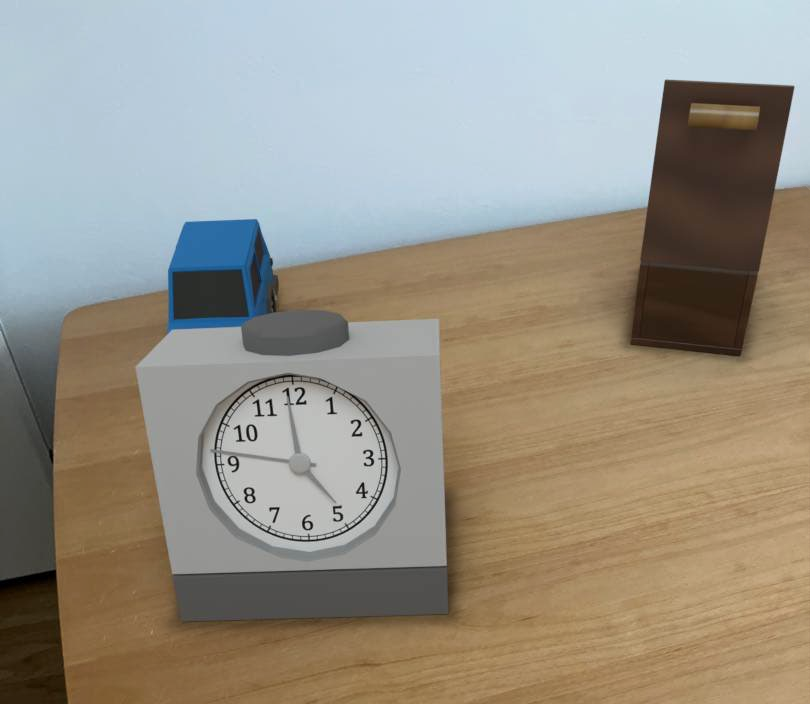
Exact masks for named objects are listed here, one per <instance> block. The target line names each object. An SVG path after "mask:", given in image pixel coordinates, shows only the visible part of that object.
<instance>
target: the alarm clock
mask: <svg viewBox="0 0 810 704" xmlns="http://www.w3.org/2000/svg"><path fill="white" fill-rule="evenodd" d="M135 374H136V379H137V384H138V391H139V396H140V402H141V408H142V413H143V418H144V425H145V430H146V435H147V441H148V446H149V452H150V457H151V462H152V469H153V474H154V479H155V486H156V491H157V497H158V503H159V508H160V513H161V519H162V525H163V530H164V531H163V532H164V537H165V542H166V547H167V552H168V558H169V563H170V570H171V574H172V581H173V587H174V592H175V598H176V602H177V608H178V614H179V619H180V622H181V623H183V622H186V623H187V622H216V621H217V622H219V621H221V622H222V621H252V620H253V621H254V620H257V621H258V620H286V619H287V620H288V619H289V620H290V619H293V620H294V619H321V618H323V619H325V618H328V619H329V618H356V617H357V618H359V617H360V618H362V617H363V618H364V617H391V616H392V617H393V616H394V617H395V616H431V615H449V589H448V588H449V587H448V556H447V555H448V553H447V521H446V520H447V518H446V488H445V487H446V485H445V459H444V458H445V457H444V455H445V453H444V431H443V430H444V427H443V425H444V424H443V397H442V394H443V393H442V369H441V336H440V318H423V319H422V318H420V319H401V320H400V319H399V320H397V319H395V320H374V321H373V320H372V321H369V320H368V321H349V322H348V321H347V320H346V318H345V317H344V316H343V315H342V314H341V313H340V312H335V311H330V310H324V309H323V310H322V309H321V310H320V309H294V310H285V311H276V312H275V313H270V314H266V315H262V316H257V317H254V318H252V319H250V320H248V321H247V322H245V323H243V325H242V326H241V327H224V328H200V329H176V330H171V331H170V332H169V333H168V334H167V333H166V335H165V336H164V337H163V338H162V339H161V340H160V341H159V342H158V344H156V345H155V346H154V347H153V348H152V350H150V352H149V353H147V355H146V356H144V358H143V359H142V360H141V361H139V363H137V365H136V366H135Z"/></svg>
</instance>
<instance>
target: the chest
mask: <svg viewBox="0 0 810 704" xmlns="http://www.w3.org/2000/svg"><path fill="white" fill-rule="evenodd" d="M758 276H759V272H756V271H745V270H733V269H722V268H711V267H700V266H688V265H677V264H666V263H654V262H643V261H640V262H639V270H638V277H637V279H638V280H637V288H636V294H635V302H634V311H633V320H632V326H631V327H632V328H631V336H630V345H633V346H634V345H635V346H643V347H652V348H662V349H671V350H678V351H679V350H680V351H689V352H700V353H709V354H717V355H727V356H736V357H741V355H742V353H743V352H742V350H743V346H744V342H745V337H746V333H747V328H748V323H749V318H750V315H751V314H750V313H751V310H752V306H753V305H752V304H753V299H754V296H755V291H756V286H757V281H758Z"/></svg>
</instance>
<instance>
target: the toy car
mask: <svg viewBox="0 0 810 704" xmlns="http://www.w3.org/2000/svg"><path fill="white" fill-rule="evenodd" d="M273 266H274V260H273V257H271V254H270V252H269V249H268V246H267V243H266V240H265V237H264V236H263V233H262V228H261V224H260V222H259V219H257V218H250V219H249V218H247V219H221V220H199V221H198V220H194V221H185V222H184V224H183V225H182V228H181V231H180V233H179V236H178V239H177V242H176V244H175V249H174V251H173V255H172V257H171V260H170V263H169V266H168V269H167V287H168V289H167V290H168V293H167V294H168V309H167V310H168V311H167V313H168V315H167V316H168V317H167V318H168V320H167V321H168V322H167V323H168V324H167V328H166V329H167V330H166V335H167V334H168V333H169V332H170V331H171V330H176V329H200V328H224V327H241V326H242V325H243V323H245V322H247V321H248V320H250V319H252V318H254V317H257V316H262V315H266V314H270V313H275V312H277V306H276V302H277V301H278V295H279V289H280V288H279V287H280V286H279V284H280V283H279V282H280V281H279V277H278V274H274V270H273Z"/></svg>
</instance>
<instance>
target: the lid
mask: <svg viewBox="0 0 810 704" xmlns="http://www.w3.org/2000/svg"><path fill="white" fill-rule="evenodd" d="M794 90H795V85H794V84H793V85H792V84H791V85H790V84H771V83H752V82H749V83H748V82H746V83H745V82H729V81H727V82H726V81H709V80H708V81H707V80H685V79H665V80H664V83H663V90H662V97H661V104H660V112H659V119H658V126H657V134H656V141H655V148H654V157H653V164H652V170H651V178H650V185H649V193H648V199H647V200H648V201H647V209H646V216H645V222H644V229H643V239H642V245H641V252H640V260H639V261H640V262H641V261H643V262H654V263H666V264H677V265H688V266H700V267H711V268H722V269H733V270H745V271H756V272H758V273H759V272H760V267H761V262H762V259H763V258H762V257H763V252H764V247H765V242H766V236H767V232H768V226H769V221H770V216H771V210H772V205H773V201H774V195H775V191H776V185H777V179H778V174H779V170H780V165H781V159H782V155H783V149H784V143H785V138H786V133H787V128H788V124H789V119H790V113H791V108H792V103H793V98H794Z"/></svg>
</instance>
